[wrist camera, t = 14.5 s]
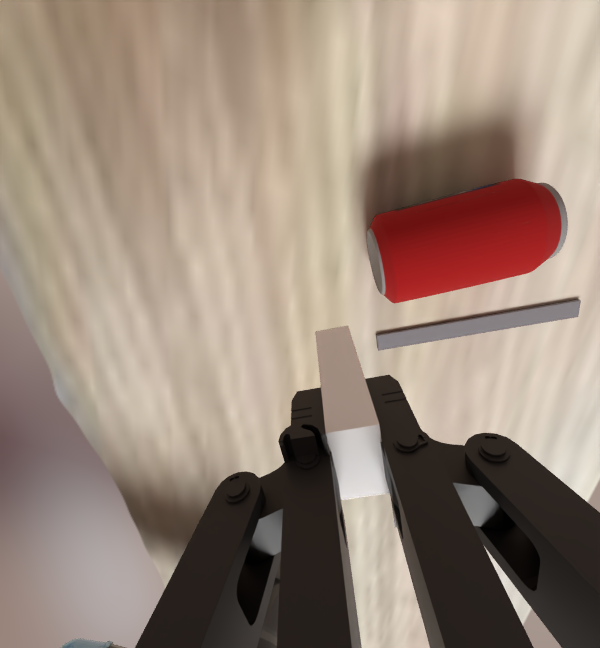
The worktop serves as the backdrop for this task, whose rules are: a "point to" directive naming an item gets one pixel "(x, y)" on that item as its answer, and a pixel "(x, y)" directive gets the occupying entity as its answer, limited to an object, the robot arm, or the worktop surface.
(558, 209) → the beverage can
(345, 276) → the worktop surface
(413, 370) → the worktop surface
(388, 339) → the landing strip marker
